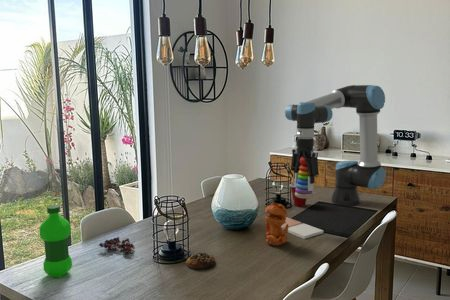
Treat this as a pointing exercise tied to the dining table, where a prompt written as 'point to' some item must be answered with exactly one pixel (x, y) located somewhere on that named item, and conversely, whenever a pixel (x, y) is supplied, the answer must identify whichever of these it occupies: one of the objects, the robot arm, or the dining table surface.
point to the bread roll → (201, 261)
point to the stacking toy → (303, 181)
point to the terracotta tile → (290, 223)
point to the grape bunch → (118, 245)
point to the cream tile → (304, 231)
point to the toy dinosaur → (276, 224)
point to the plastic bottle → (56, 243)
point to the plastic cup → (297, 201)
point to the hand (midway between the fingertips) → (303, 188)
